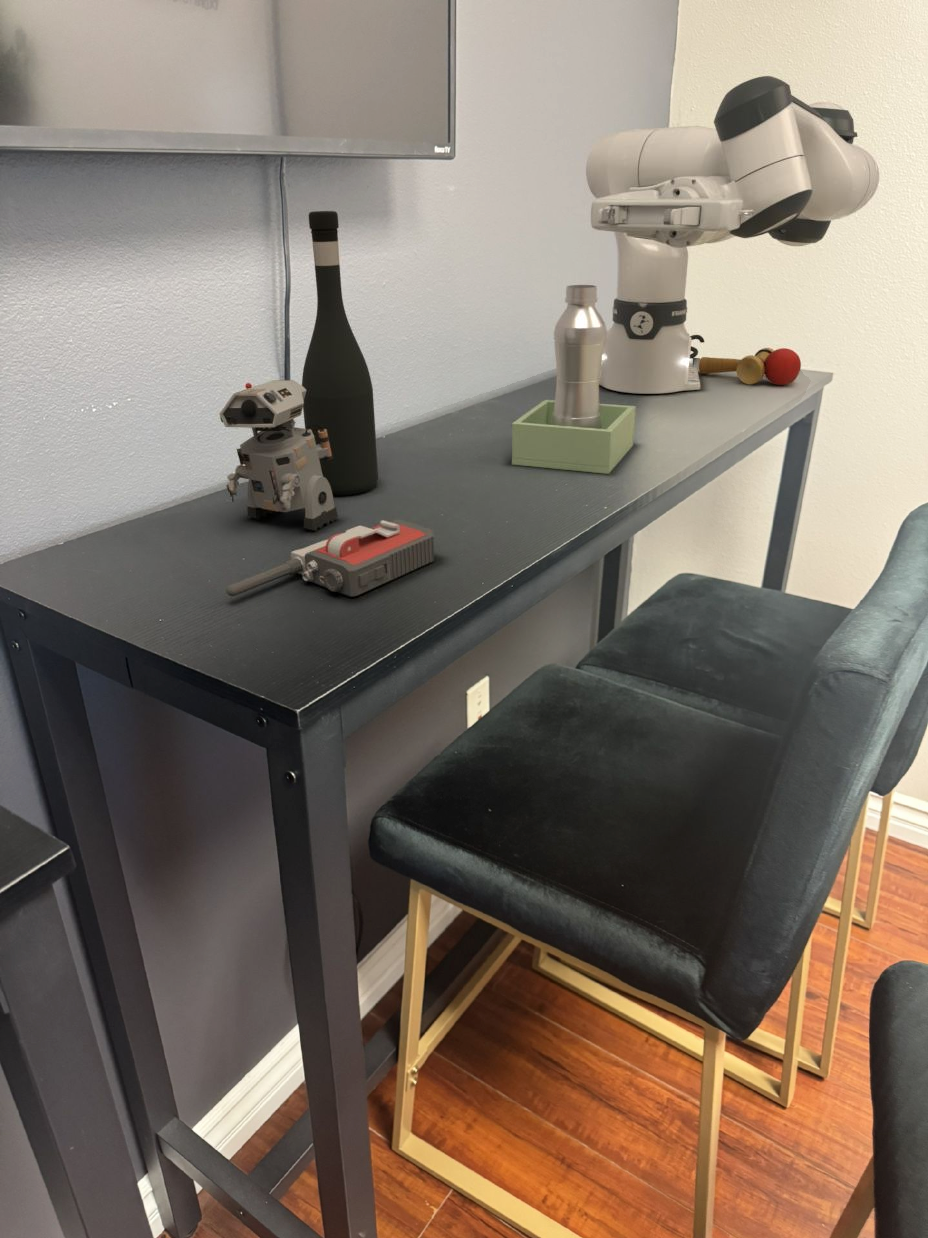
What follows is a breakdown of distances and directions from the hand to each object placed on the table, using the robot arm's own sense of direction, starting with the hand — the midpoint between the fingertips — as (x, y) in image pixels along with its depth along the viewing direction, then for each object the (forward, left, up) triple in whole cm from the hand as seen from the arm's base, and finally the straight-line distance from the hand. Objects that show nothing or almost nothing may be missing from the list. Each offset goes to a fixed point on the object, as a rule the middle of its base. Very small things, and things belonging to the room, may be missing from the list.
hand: (635, 216), depth 113 cm
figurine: (+48, -26, -28) cm, 61 cm away
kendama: (-43, +12, -28) cm, 52 cm away
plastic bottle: (+12, -4, -27) cm, 30 cm away
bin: (+12, -4, -28) cm, 31 cm away
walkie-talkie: (+58, -13, -28) cm, 65 cm away
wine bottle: (+34, -26, -28) cm, 51 cm away
